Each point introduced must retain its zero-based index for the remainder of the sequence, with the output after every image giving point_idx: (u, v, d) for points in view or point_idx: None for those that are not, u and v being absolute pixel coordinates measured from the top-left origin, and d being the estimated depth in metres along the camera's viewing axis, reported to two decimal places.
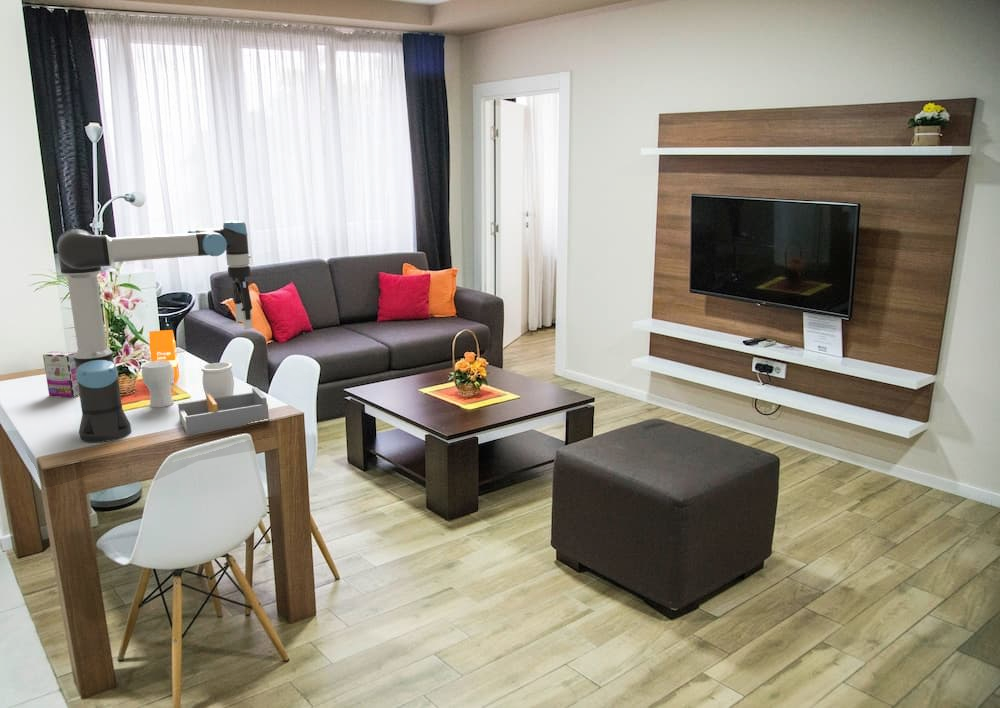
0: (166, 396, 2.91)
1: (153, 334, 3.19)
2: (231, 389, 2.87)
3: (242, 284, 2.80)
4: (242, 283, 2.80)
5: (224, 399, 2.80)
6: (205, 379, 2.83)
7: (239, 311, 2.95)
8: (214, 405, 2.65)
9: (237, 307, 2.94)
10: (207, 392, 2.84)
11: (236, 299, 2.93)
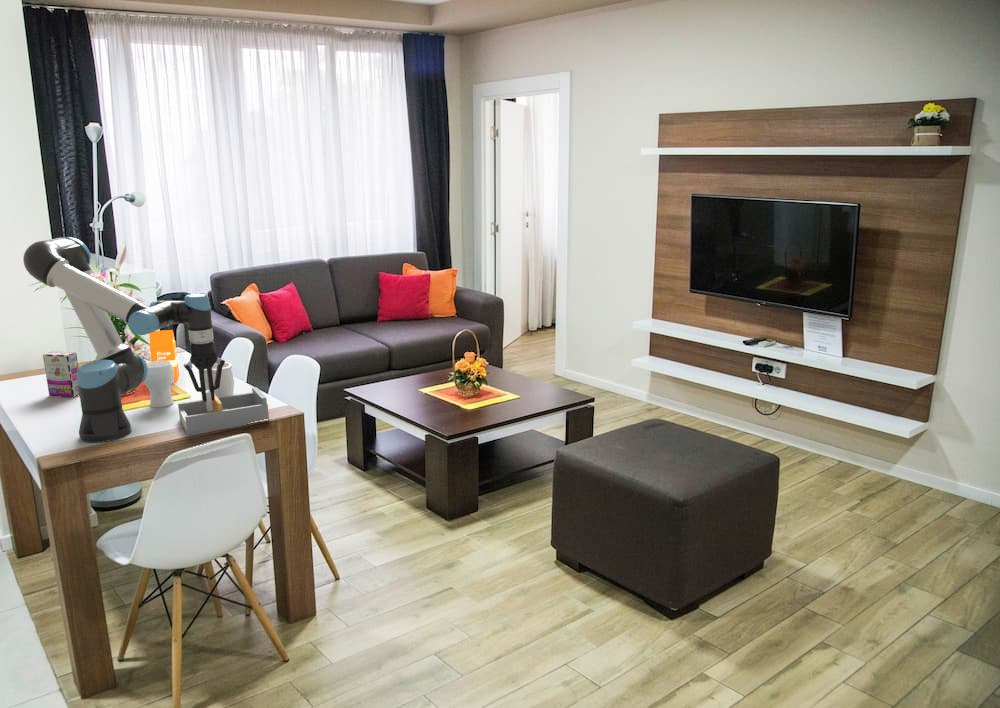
0: (166, 396, 2.91)
1: (153, 334, 3.19)
2: (231, 389, 2.87)
3: None
4: (184, 366, 2.65)
5: (224, 399, 2.80)
6: (205, 379, 2.83)
7: None
8: (219, 404, 2.66)
9: None
10: None
11: (208, 382, 2.70)
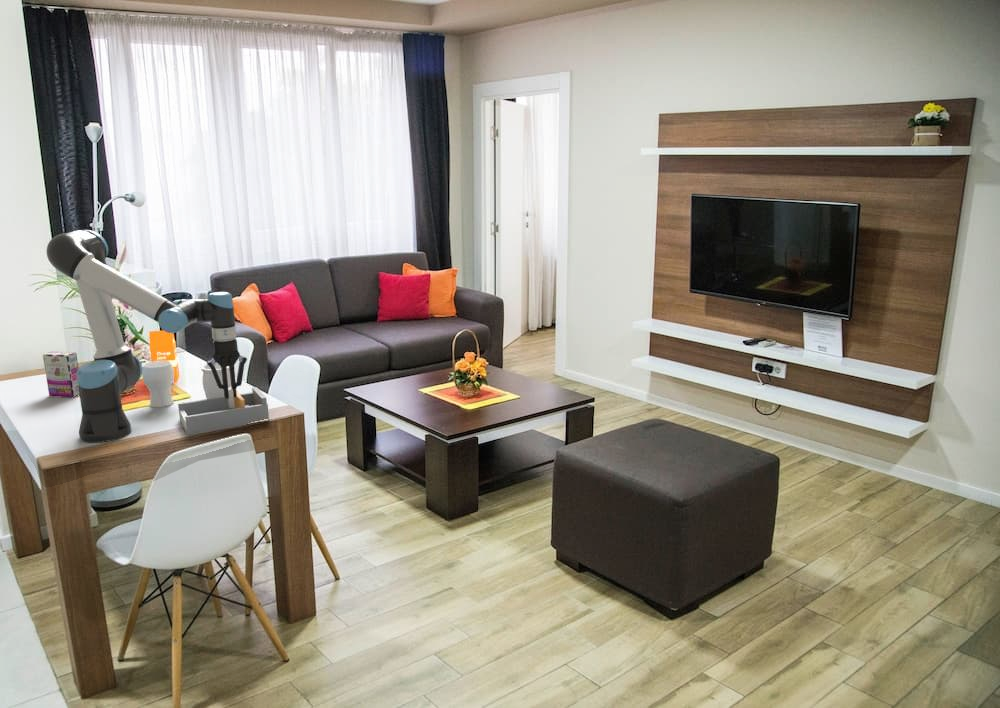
0: (166, 396, 2.91)
1: (153, 334, 3.19)
2: None
3: None
4: (207, 363, 2.68)
5: (224, 399, 2.80)
6: (205, 379, 2.83)
7: None
8: (241, 401, 2.69)
9: None
10: (207, 392, 2.84)
11: (230, 379, 2.73)
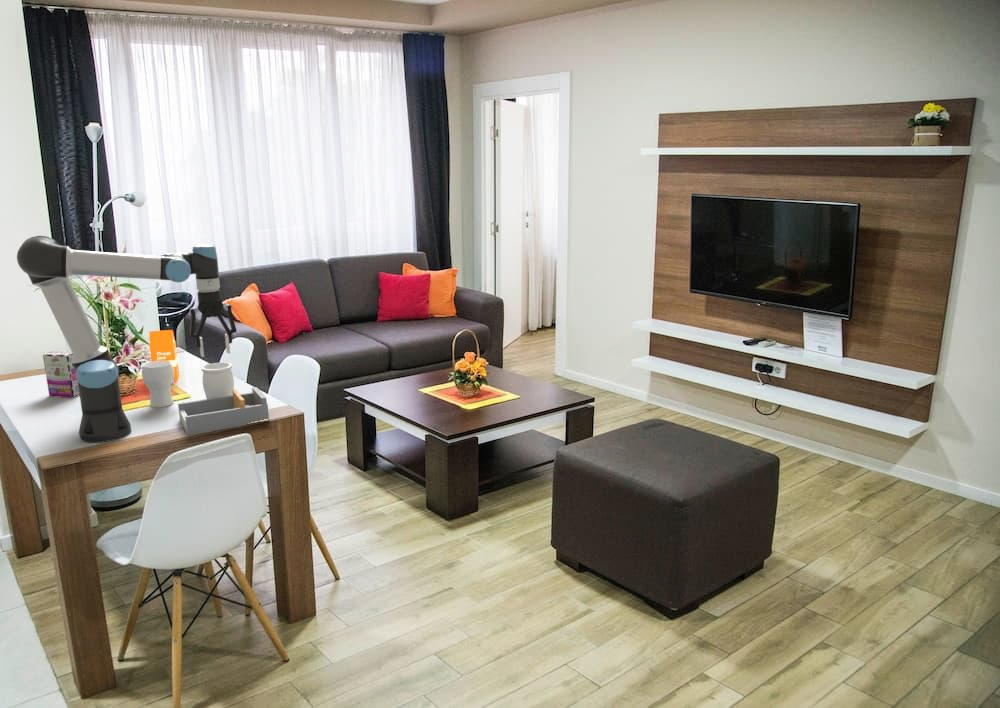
0: (166, 396, 2.91)
1: (153, 334, 3.19)
2: (231, 389, 2.87)
3: (190, 311, 2.79)
4: None
5: (224, 399, 2.80)
6: (205, 379, 2.83)
7: (226, 342, 2.86)
8: (241, 401, 2.69)
9: (225, 337, 2.86)
10: (207, 392, 2.84)
11: (224, 328, 2.85)
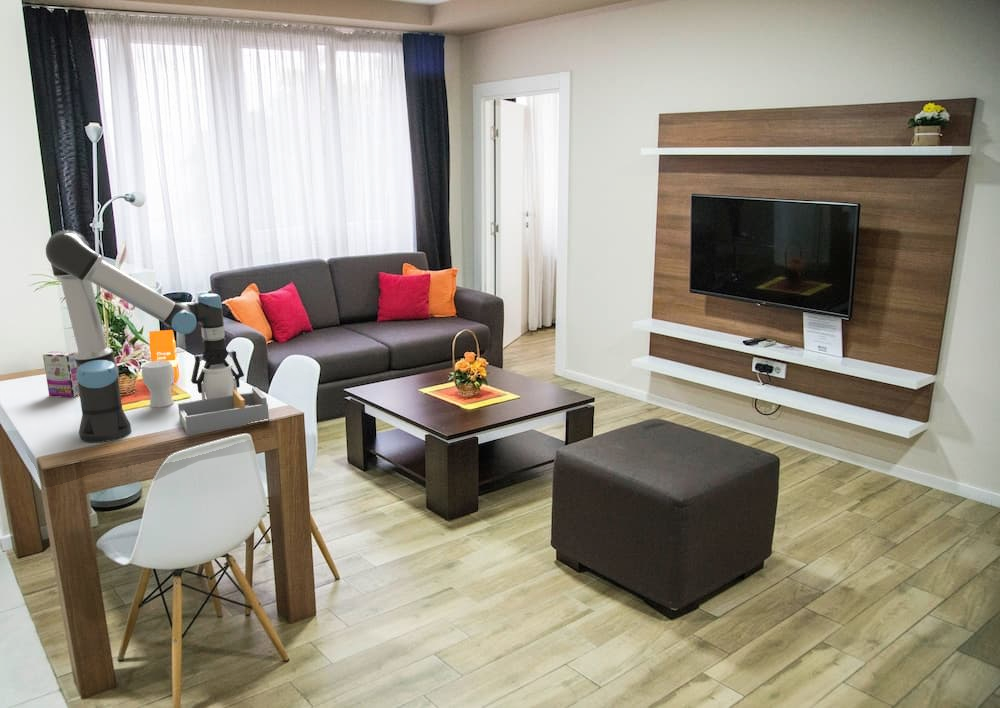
0: (166, 396, 2.91)
1: (153, 334, 3.19)
2: (231, 389, 2.87)
3: None
4: None
5: (224, 399, 2.80)
6: (205, 379, 2.83)
7: None
8: (241, 401, 2.69)
9: None
10: (207, 392, 2.84)
11: None
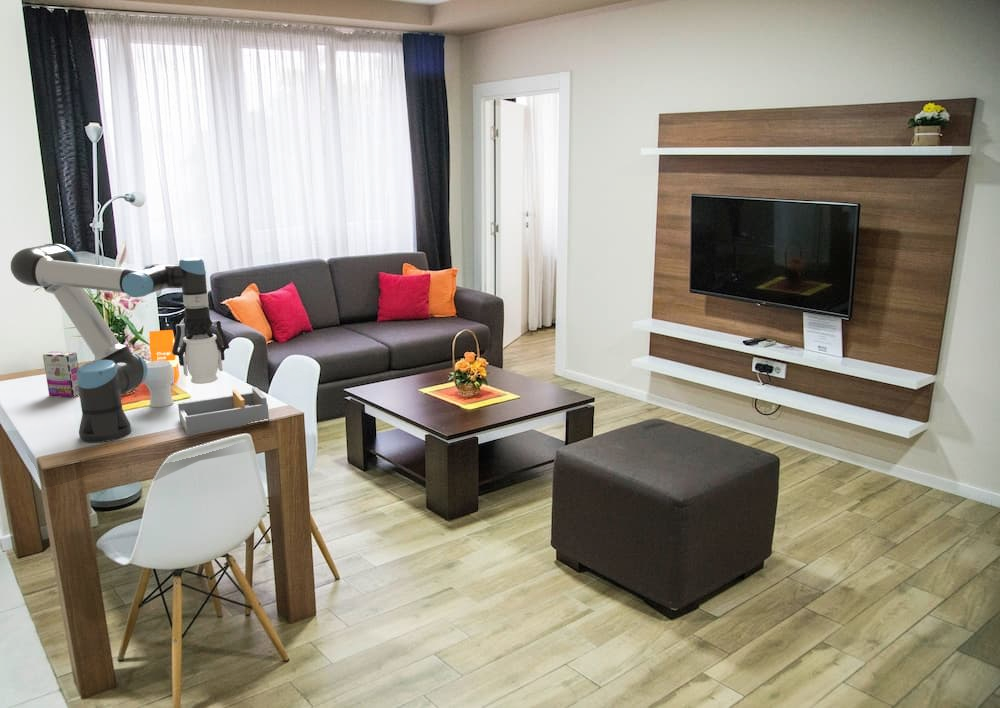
0: (166, 396, 2.91)
1: (153, 334, 3.19)
2: (215, 362, 2.66)
3: None
4: None
5: (224, 399, 2.80)
6: (187, 351, 2.62)
7: None
8: (241, 401, 2.69)
9: None
10: (189, 365, 2.63)
11: None
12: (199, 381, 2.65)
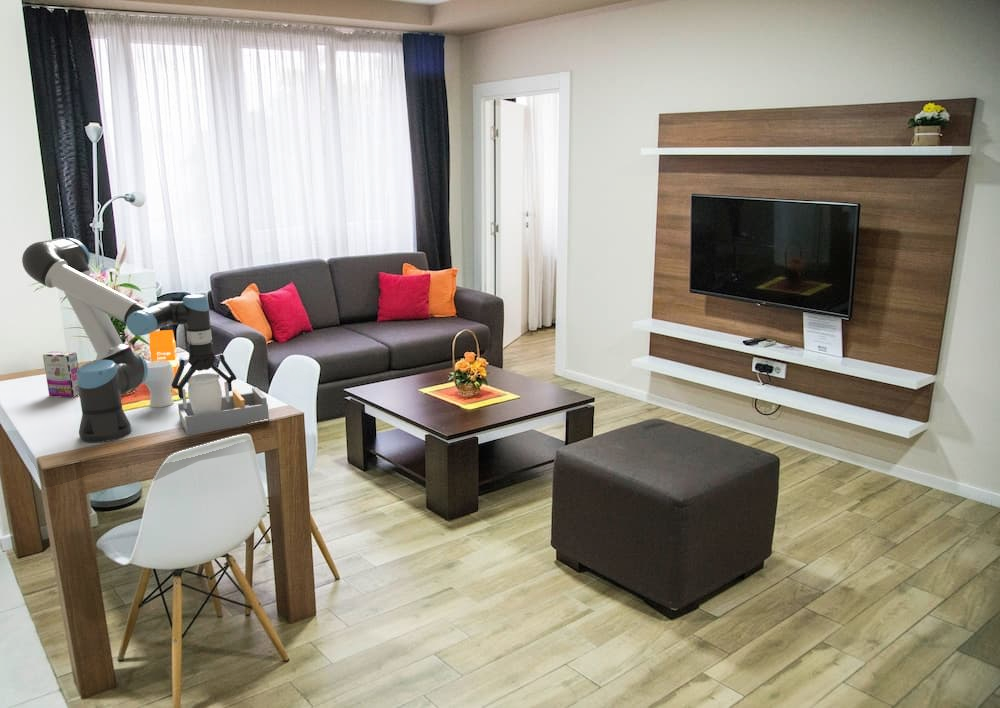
0: (166, 396, 2.91)
1: (153, 334, 3.19)
2: (219, 401, 2.69)
3: (179, 361, 2.64)
4: (179, 360, 2.64)
5: (224, 399, 2.80)
6: (191, 392, 2.65)
7: (225, 390, 2.73)
8: (241, 401, 2.69)
9: (224, 385, 2.73)
10: (193, 405, 2.66)
11: None
12: None
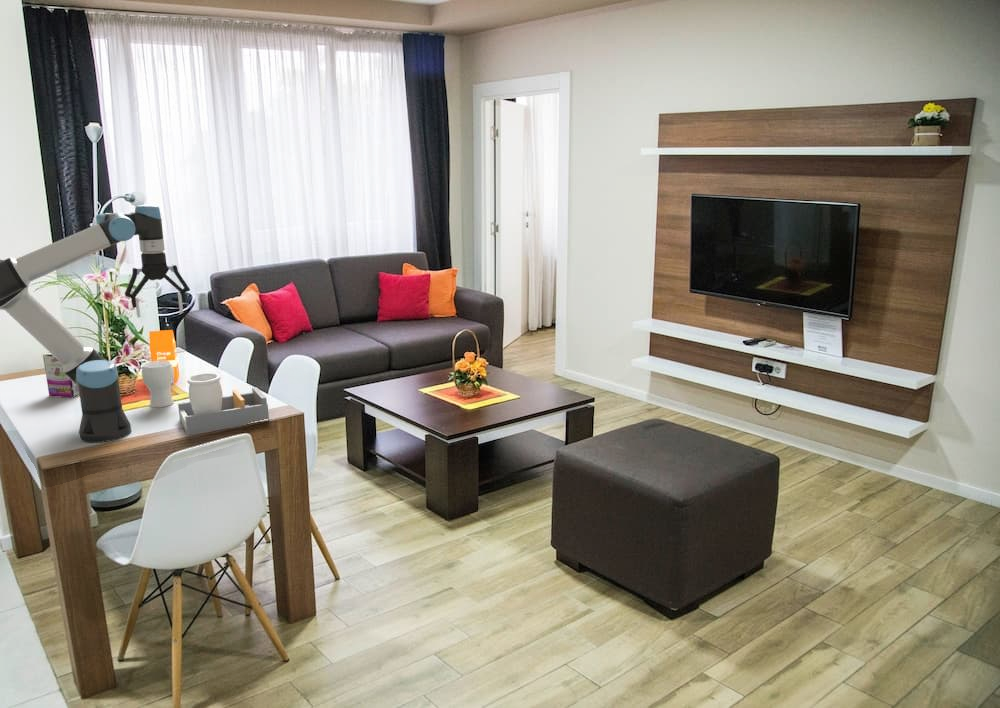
0: (166, 396, 2.91)
1: (153, 334, 3.19)
2: (219, 402, 2.69)
3: (132, 270, 2.70)
4: (132, 269, 2.70)
5: (224, 399, 2.80)
6: (191, 392, 2.65)
7: (179, 301, 2.78)
8: (241, 401, 2.69)
9: (178, 296, 2.79)
10: (194, 405, 2.66)
11: None
12: None
